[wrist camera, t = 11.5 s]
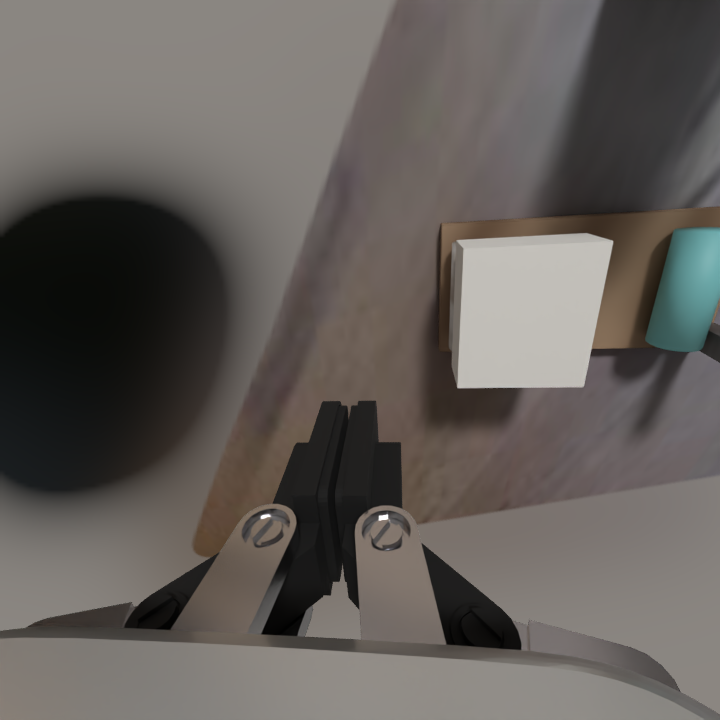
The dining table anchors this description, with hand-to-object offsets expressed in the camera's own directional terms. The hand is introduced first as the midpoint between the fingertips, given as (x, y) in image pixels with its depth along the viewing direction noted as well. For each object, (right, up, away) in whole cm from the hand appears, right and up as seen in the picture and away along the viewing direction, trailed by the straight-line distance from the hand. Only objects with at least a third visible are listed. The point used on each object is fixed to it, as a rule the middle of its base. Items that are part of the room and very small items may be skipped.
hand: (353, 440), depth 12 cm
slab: (+9, +6, +11) cm, 16 cm away
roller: (+20, +7, +11) cm, 24 cm away
